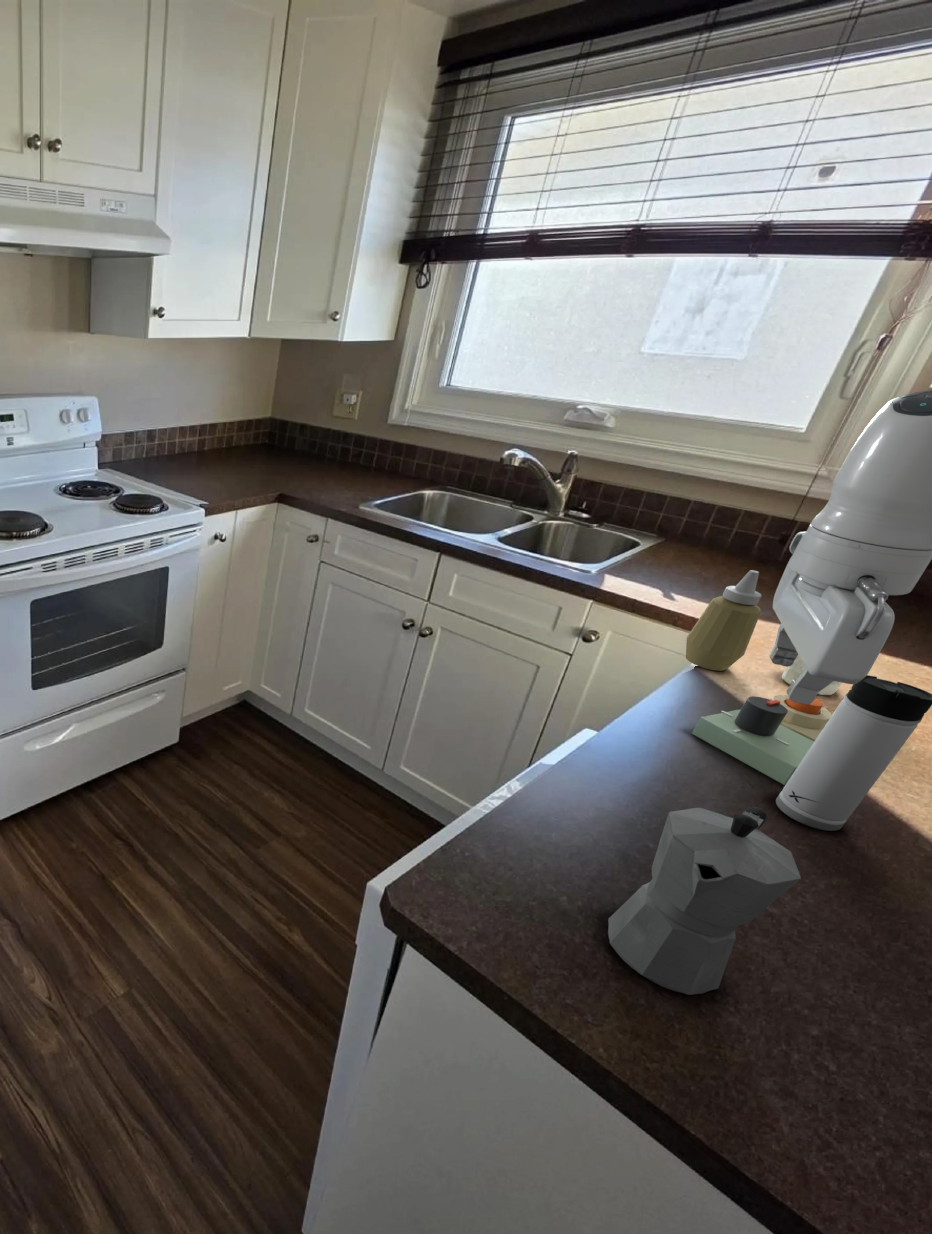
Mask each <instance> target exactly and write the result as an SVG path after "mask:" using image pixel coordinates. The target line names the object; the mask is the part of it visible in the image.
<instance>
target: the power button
mask: <svg viewBox="0 0 932 1234" xmlns="http://www.w3.org/2000/svg"><path fill="white" fill-rule="evenodd" d="M786 704H787V705H788V706H789V707H791V708H793V709H795V710H797V711H800V712H803V713H807V714H812V715H817V714H818V713H819V711H820V710H821V708H822V707H824V706H825V705H824V702H823V701H821V700H820V699H819V698H816V697H815V699H814V701H813V702H812V703H811V704H802V703H797V702H793V701H791V700H790V699H788V700H787V702H786Z"/></svg>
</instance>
